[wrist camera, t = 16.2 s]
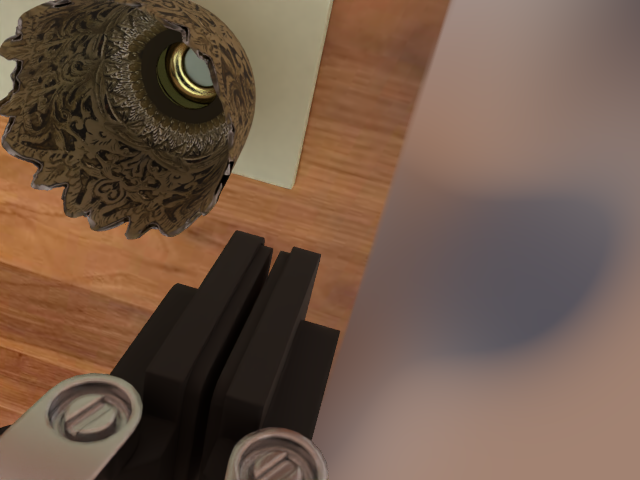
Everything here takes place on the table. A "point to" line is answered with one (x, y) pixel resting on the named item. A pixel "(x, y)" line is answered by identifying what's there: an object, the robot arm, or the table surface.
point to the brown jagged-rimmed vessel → (127, 109)
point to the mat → (268, 69)
